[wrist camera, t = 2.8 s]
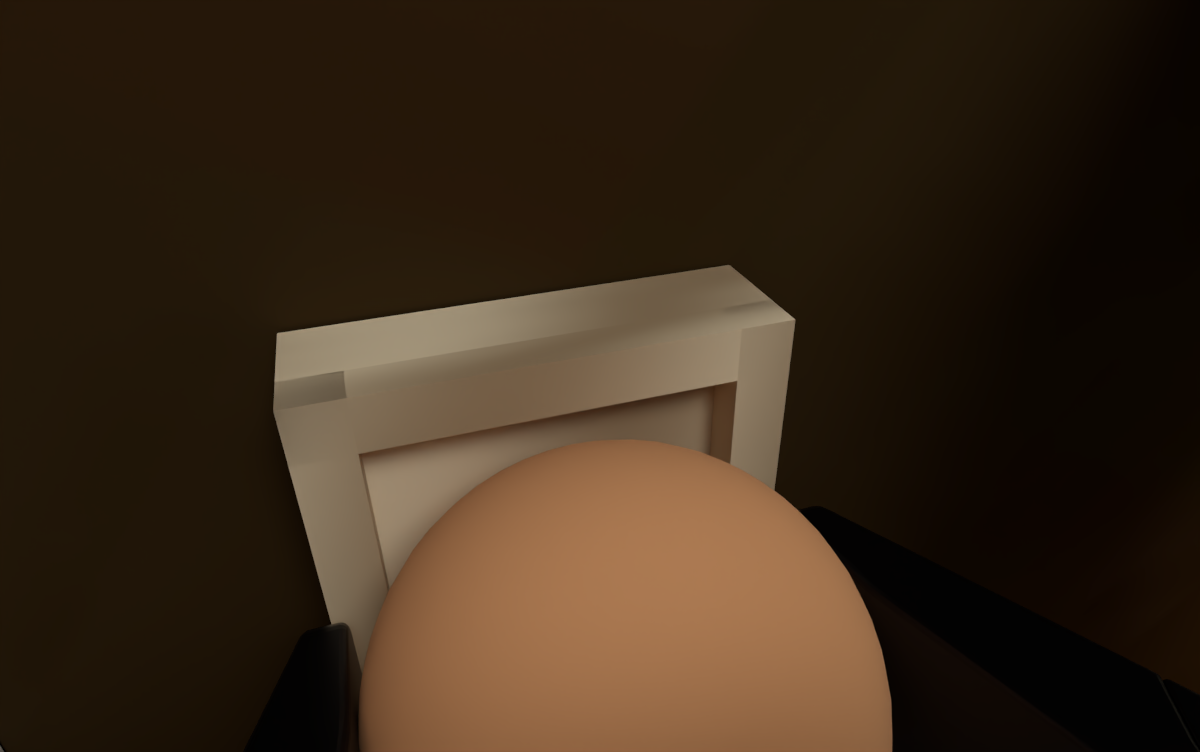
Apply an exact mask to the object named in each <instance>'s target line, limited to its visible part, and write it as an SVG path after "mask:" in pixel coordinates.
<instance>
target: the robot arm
mask: <svg viewBox="0 0 1200 752" xmlns="http://www.w3.org/2000/svg"><path fill="white" fill-rule="evenodd" d="M798 511H799V512H800V513H801V514H802V515H803V516H804V517H805V518H806V519H807V520H808V521H809V522H810V523H811V524H812V525H813V526H814V527H815V528H816V529H817V530H818V531H819V532H820V534H821V535H822V536H823V538H824V539H825V540H826V542H827V543H828V544H829V546H830V547H831V548H832V550H833V551H834V552H835V554H836V555H837V557H838V558H839V559H840V561H841V562H842V564H843V565H844V566H845V568H846V569H847V571H848V572H849V574H850V576H851V578H852V580H853V582H854V584H855V586H856V588H857V590H858V592H859V594H860V596H861V598H862V600H863V602H864V604H865V606H866V608H867V610H868V613H869V615H870V617H871V619H872V622H873V625H874V628H875V631H876V634H877V637H878V640H879V643H880V646H881V649H882V654H883V658H884V663H885V668H886V674H887V679H888V685H889V690H890V696H891V706H892V752H1200V695H1199V694H1197V693H1195V692H1193V691H1191V690H1189V689H1187V688H1185V687H1183V686H1181V685H1179V684H1177V683H1175V682H1173V681H1171V680H1168V679H1165V680H1163V681H1162V679H1161V677H1160V676H1159V675H1158V674H1156V673H1155V672H1153V671H1151V670H1149V669H1147V668H1145V667H1143V666H1141V665H1138V664H1136V663H1134V662H1132V661H1130V660H1128V659H1126V658H1124V657H1122V656H1120V655H1118V654H1116V653H1114V652H1112V651H1110V650H1108V649H1106V648H1104V647H1102V646H1100V645H1098V644H1096V643H1094V642H1092V641H1090V640H1088V639H1086V638H1084V637H1082V636H1080V635H1078V634H1076V633H1074V632H1072V631H1070V630H1068V629H1066V628H1064V627H1062V626H1060V625H1058V624H1056V623H1054V622H1052V621H1050V620H1048V619H1046V618H1044V617H1042V616H1040V615H1038V614H1036V613H1034V612H1032V611H1030V610H1028V609H1026V608H1024V607H1022V606H1020V605H1018V604H1016V603H1014V602H1012V601H1010V600H1008V599H1006V598H1004V597H1002V596H1000V595H998V594H996V593H994V592H992V591H990V590H988V589H986V588H984V587H982V586H980V585H978V584H976V583H974V582H972V581H970V580H968V579H966V578H964V577H962V576H960V575H958V574H956V573H954V572H952V571H950V570H948V569H946V568H944V567H942V566H940V565H938V564H936V563H934V562H932V561H930V560H928V559H926V558H924V557H922V556H920V555H918V554H916V553H914V552H912V551H910V550H908V549H906V548H904V547H902V546H900V545H898V544H896V543H894V542H892V541H890V540H888V539H886V538H884V537H882V536H880V535H878V534H876V533H874V532H872V531H870V530H868V529H866V528H864V527H862V526H860V525H858V524H856V523H854V522H852V521H850V520H848V519H846V518H844V517H842V516H840V515H838V514H836V513H834V512H832V511H830V510H828V509H826V508H823V507H820V506H812V507H808V508H804V509H800V510H798ZM361 680H362V672H361V668H360V664H359V660H358V656H357V652H356V648H355V644H354V641H353V637H352V633H351V630H350V627H349V626H348V625H347V624H346V623H343V622H340V623H336V624H332V625H328V626H324V627H320V628H316V629H312V630H308V631H306V632H305V633H304V634H302V636H301V637H300V639H299V640H298V642H297V644H296V646H295V648H294V650H293V652H292V654H291V656H290V658H289V660H288V662H287V664H286V666H285V668H284V670H283V672H282V674H281V676H280V678H279V680H278V683H277V685H276V687H275V689H274V691H273V693H272V695H271V697H270V699H269V701H268V703H267V705H266V707H265V709H264V711H263V713H262V715H261V717H260V719H259V721H258V723H257V725H256V727H255V729H254V731H253V733H252V735H251V737H250V739H249V741H248V743H247V745H246V747H245V749H244V751H243V752H360V751H359V735H358V715H359V693H360V686H361Z"/></svg>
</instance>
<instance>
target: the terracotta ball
mask: <svg viewBox="0 0 1200 752" xmlns="http://www.w3.org/2000/svg"><path fill="white" fill-rule="evenodd" d="M358 735H359V751H360V752H892V706H891V696H890V690H889V685H888V679H887V674H886V668H885V663H884V658H883V654H882V649H881V646H880V643H879V640H878V637H877V634H876V631H875V628H874V625H873V622H872V619H871V617H870V615H869V613H868V610H867V608H866V606H865V604H864V602H863V600H862V598H861V596H860V594H859V592H858V590H857V588H856V586H855V584H854V582H853V580H852V578H851V576H850V574H849V572H848V571H847V569H846V568H845V566H844V565H843V564H842V562H841V561H840V559H839V558H838V557H837V555H836V554H835V552H834V551H833V550H832V548H831V547H830V546H829V544H828V543H827V542H826V540H825V539H824V538H823V536H822V535H821V534H820V532H819V531H818V530H817V529H816V528H815V527H814V526H813V525H812V524H811V523H810V522H809V521H808V520H807V519H806V518H805V517H804V516H803V515H802V514H801V513H800V512H799V511H798V510H797V509H796V508H795V507H794V506H792V505H791V504H790V503H789V502H788V501H787V500H786V499H784V498H783V497H782V496H781V495H779V494H778V493H777V492H775V491H774V490H773V489H771V488H770V487H768V486H767V485H766V484H764V483H763V482H762V481H760V480H758V479H756V478H755V477H753V476H751V475H750V474H748V473H746V472H745V471H743V470H741V469H739V468H737V467H735V466H733V465H731V464H729V463H727V462H725V461H723V460H720V459H718V458H715V457H712V456H710V455H707V454H705V453H702V452H699V451H695V450H692V449H688V448H684V447H680V446H675V445H671V444H666V443H662V442H656V441H645V440H599V441H590V442H583V443H577V444H571V445H567V446H563V447H559V448H556V449H552V450H548V451H545V452H542V453H540V454H537V455H534V456H532V457H529V458H526V459H524V460H522V461H520V462H518V463H516V464H514V465H512V466H510V467H508V468H506V469H503V470H501V471H500V472H498V473H496V474H495V475H493V476H492V477H490V478H488V479H487V480H485V481H484V482H482V483H481V484H479V485H477V486H476V487H475V488H474V489H472V490H471V491H470V492H469V493H467V494H466V495H465V496H464V497H462V498H461V499H460V500H459V501H457V502H456V503H455V504H454V505H453V506H452V507H451V508H450V509H449V510H448V511H447V512H446V513H445V514H444V515H443V516H442V517H441V518H440V519H439V520H438V521H437V522H436V523H435V524H434V525H433V526H432V527H431V528H430V529H429V530H428V532H427V533H426V534H425V535H424V537H423V538H422V539H421V540H420V542H419V543H418V544H417V546H416V547H415V548H414V549H413V551H412V552H411V554H410V556H409V557H408V559H407V561H406V562H405V564H404V566H403V567H402V569H401V571H400V572H399V574H398V576H397V578H396V579H395V581H394V583H393V584H392V586H391V588H390V589H389V591H388V593H387V596H386V598H385V601H384V603H383V606H382V608H381V610H380V613H379V615H378V618H377V621H376V624H375V626H374V629H373V632H372V635H371V638H370V642H369V646H368V650H367V654H366V658H365V663H364V668H363V674H362V680H361V686H360V693H359V715H358Z"/></svg>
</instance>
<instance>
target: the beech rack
mask: <svg viewBox="0 0 1200 752" xmlns="http://www.w3.org/2000/svg"><path fill="white" fill-rule="evenodd" d="M794 327H795V319H794V318H793V317H791V316H790V315H789V314H788V313H787V312H785V311H784V310H783V309H782V308H781V307H779V306H778V305H777V304H776V303H775V302H773V301H772V300H771V299H770V298H769V297H767V296H766V295H765V294H764V293H763V292H761V291H760V290H759V289H758V288H756V287H755V286H754V285H753V284H752V283H750V282H749V281H748V280H747V279H746V278H744V277H743V276H742V275H741V274H740V273H738V272H737V271H736V270H735V269H734V268H732V267H731V266H730V265H726V266H720V267H713V268H706V269H700V270H693V271H687V272H680V273H673V274H667V275H660V276H653V277H647V278H640V279H634V280H627V281H620V282H614V283H607V284H600V285H594V286H587V287H581V288H574V289H567V290H561V291H554V292H547V293H541V294H534V295H527V296H521V297H514V298H508V299H501V300H494V301H488V302H481V303H474V304H468V305H461V306H455V307H448V308H441V309H435V310H428V311H421V312H415V313H408V314H402V315H395V316H388V317H382V318H375V319H368V320H362V321H355V322H349V323H342V324H335V325H329V326H322V327H315V328H309V329H302V330H296V331H289V332H282V333H277V345H276V365H275V386H274V406H273V412H274V416H275V419H276V423H277V427H278V430H279V434H280V438H281V441H282V445H283V449H284V452H285V456H286V460H287V463H288V467H289V471H290V474H291V478H292V482H293V485H294V489H295V493H296V496H297V500H298V504H299V507H300V511H301V514H302V518H303V522H304V525H305V529H306V533H307V536H308V540H309V544H310V547H311V551H312V555H313V558H314V562H315V566H316V569H317V573H318V577H319V580H320V584H321V588H322V591H323V595H324V599H325V602H326V606H327V610H328V613H329V617H330V621H331V624H336V623H340V622H343V623H346V624H347V625H348V626H349V627H350V630H351V633H352V637H353V641H354V644H355V648H356V652H357V656H358V660H359V664H360V668H361V672H362V674H363V668H364V663H365V658H366V654H367V650H368V646H369V642H370V638H371V635H372V632H373V629H374V626H375V624H376V621H377V618H378V615H379V613H380V610H381V608H382V606H383V603H384V601H385V598H386V596H387V593H388V591H389V589H390V588H391V586H392V584H393V583H394V581H395V579H396V578H397V576H398V574H399V572H400V571H401V569H402V567H403V566H404V564H405V562H406V561H407V559H408V557H409V556H410V554H411V552H412V551H413V549H414V548H415V547H416V546H417V544H418V543H419V542H420V540H421V539H422V538H423V537H424V535H425V534H426V533H427V532H428V530H429V529H430V528H431V527H432V526H433V525H434V524H435V523H436V522H437V521H438V520H439V519H440V518H441V517H442V516H443V515H444V514H445V513H446V512H447V511H448V510H449V509H450V508H451V507H452V506H453V505H454V504H455V503H456V502H457V501H459V500H460V499H461V498H462V497H464V496H465V495H466V494H467V493H469V492H470V491H471V490H472V489H474V488H475V487H476V486H477V485H479V484H481V483H482V482H484V481H485V480H487V479H488V478H490V477H492V476H493V475H495V474H496V473H498V472H500V471H501V470H503V469H506V468H508V467H510V466H512V465H514V464H516V463H518V462H520V461H522V460H524V459H526V458H529V457H532V456H534V455H537V454H540V453H542V452H545V451H548V450H552V449H556V448H559V447H563V446H567V445H571V444H577V443H583V442H590V441H599V440H645V441H656V442H662V443H666V444H671V445H675V446H680V447H684V448H688V449H692V450H695V451H699V452H702V453H705V454H707V455H710V456H712V457H715V458H718V459H720V460H723V461H725V462H727V463H729V464H731V465H733V466H735V467H737V468H739V469H741V470H743V471H745V472H746V473H748V474H750V475H751V476H753V477H755V478H756V479H758V480H760V481H762V482H763V483H764V484H766V485H767V486H768V487H770V488H771V489H773V490H774V489H775V481H776V473H777V464H778V456H779V448H780V440H781V432H782V424H783V416H784V408H785V400H786V392H787V383H788V375H789V367H790V359H791V351H792V343H793V335H794Z"/></svg>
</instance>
